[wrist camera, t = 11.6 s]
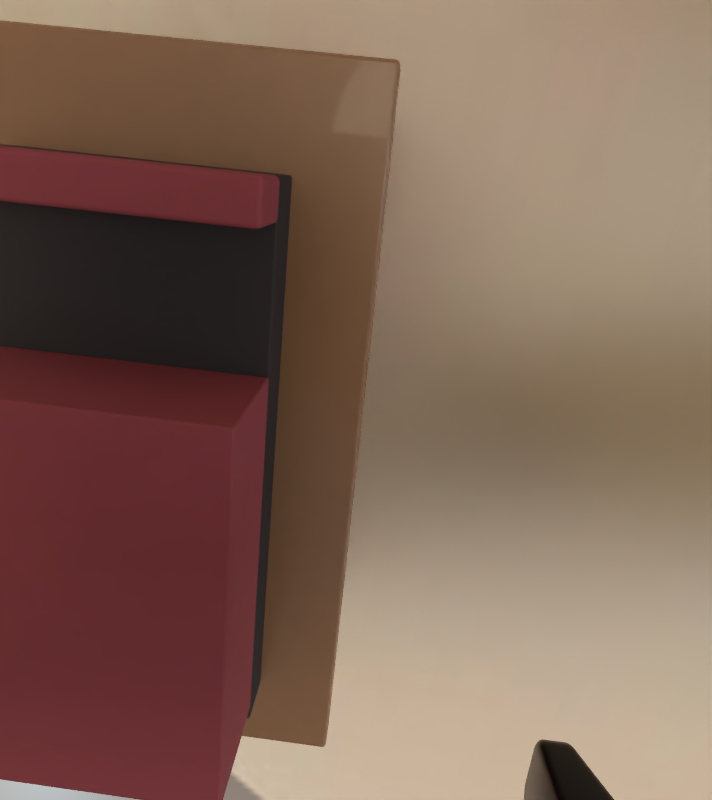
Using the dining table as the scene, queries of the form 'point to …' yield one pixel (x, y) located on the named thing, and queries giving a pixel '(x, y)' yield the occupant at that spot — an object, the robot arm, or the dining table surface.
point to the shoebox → (305, 274)
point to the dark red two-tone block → (135, 465)
